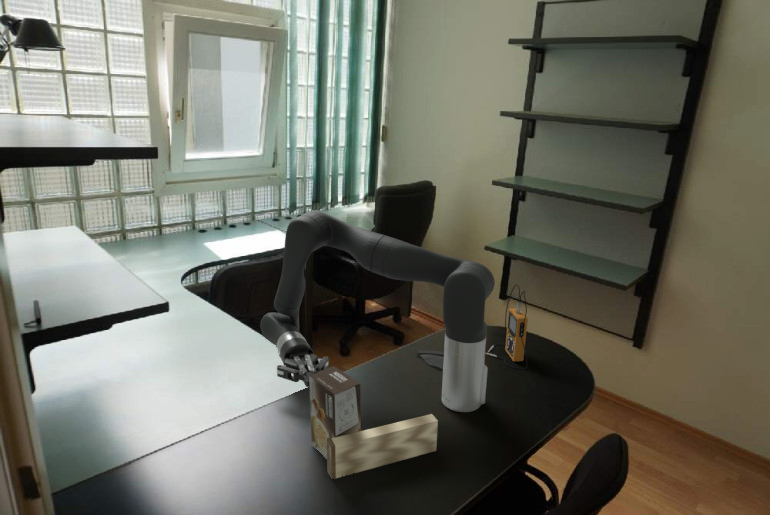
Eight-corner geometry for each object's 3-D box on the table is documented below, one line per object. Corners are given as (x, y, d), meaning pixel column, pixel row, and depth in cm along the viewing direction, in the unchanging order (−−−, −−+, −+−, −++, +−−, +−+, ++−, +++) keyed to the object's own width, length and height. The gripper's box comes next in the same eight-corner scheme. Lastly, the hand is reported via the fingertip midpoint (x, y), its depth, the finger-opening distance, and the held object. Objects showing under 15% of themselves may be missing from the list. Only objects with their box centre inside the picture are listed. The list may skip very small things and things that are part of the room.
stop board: (430, 443, 106) (431, 412, 104) (436, 451, 104) (438, 420, 102) (327, 470, 98) (326, 438, 96) (331, 480, 96) (331, 446, 93)
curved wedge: (430, 349, 147) (430, 344, 147) (470, 366, 139) (470, 360, 138) (411, 359, 142) (411, 354, 141) (451, 377, 133) (452, 371, 132)
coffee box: (362, 455, 102) (362, 383, 98) (336, 469, 98) (334, 395, 94) (335, 433, 109) (334, 364, 104) (309, 445, 105) (307, 375, 100)
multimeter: (476, 345, 149) (481, 280, 143) (509, 344, 150) (516, 279, 145) (491, 370, 135) (498, 299, 129) (528, 369, 136) (536, 298, 131)
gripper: (267, 341, 126) (282, 375, 111) (319, 332, 131) (341, 363, 116) (268, 369, 128) (284, 405, 113) (320, 359, 133) (342, 393, 118)
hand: (313, 384), depth 114 cm, fingers closed
